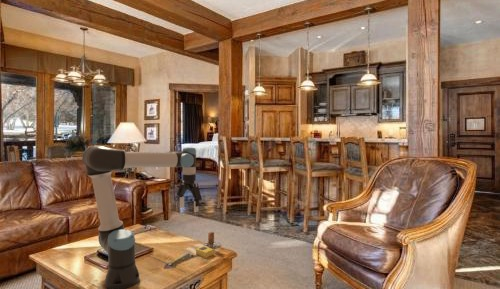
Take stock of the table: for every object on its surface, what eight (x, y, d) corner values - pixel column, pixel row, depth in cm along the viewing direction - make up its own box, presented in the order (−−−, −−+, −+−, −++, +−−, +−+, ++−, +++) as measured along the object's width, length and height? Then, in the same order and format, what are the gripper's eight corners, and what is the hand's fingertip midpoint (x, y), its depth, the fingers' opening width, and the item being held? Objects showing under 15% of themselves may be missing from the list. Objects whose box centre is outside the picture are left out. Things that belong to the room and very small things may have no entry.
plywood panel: (201, 260, 168) (201, 258, 168) (180, 252, 179) (180, 250, 179) (219, 252, 179) (219, 250, 179) (199, 245, 190) (199, 243, 190)
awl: (211, 251, 178) (211, 234, 177) (207, 249, 180) (206, 233, 180) (215, 249, 181) (215, 232, 180) (211, 248, 183) (211, 231, 182)
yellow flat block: (205, 257, 169) (205, 252, 169) (195, 254, 174) (195, 248, 174) (213, 254, 173) (213, 248, 173) (203, 250, 178) (203, 245, 178)
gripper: (208, 175, 175) (207, 212, 175) (181, 171, 191) (181, 205, 192) (197, 176, 169) (197, 214, 170) (171, 172, 185) (171, 207, 186)
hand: (188, 209), depth 181 cm, fingers open, 13 cm apart
